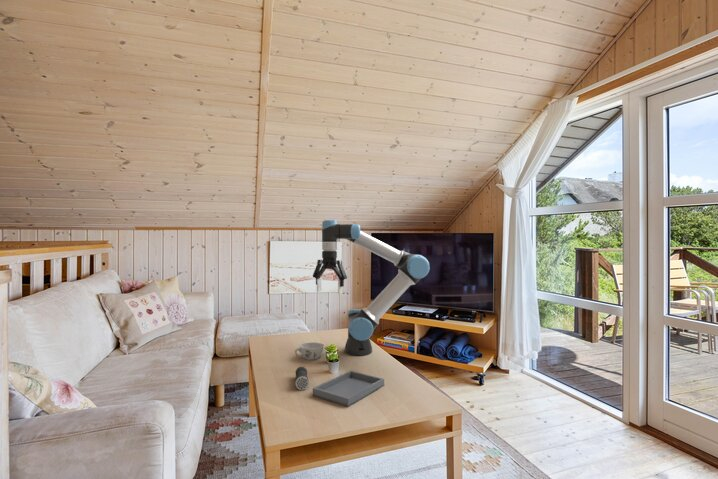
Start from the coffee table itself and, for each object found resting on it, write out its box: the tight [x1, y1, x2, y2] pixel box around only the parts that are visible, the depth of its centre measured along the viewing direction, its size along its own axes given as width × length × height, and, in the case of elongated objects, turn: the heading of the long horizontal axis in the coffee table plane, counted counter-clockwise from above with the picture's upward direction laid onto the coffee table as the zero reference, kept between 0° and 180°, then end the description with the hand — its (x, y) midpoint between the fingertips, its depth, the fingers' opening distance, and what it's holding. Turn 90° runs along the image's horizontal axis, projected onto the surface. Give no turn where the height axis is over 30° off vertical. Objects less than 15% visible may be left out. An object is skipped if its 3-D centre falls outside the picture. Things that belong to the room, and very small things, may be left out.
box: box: [312, 370, 385, 408], centre depth 158 cm, size 26×18×3 cm
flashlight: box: [295, 366, 310, 391], centre depth 166 cm, size 15×5×5 cm
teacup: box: [294, 342, 325, 361], centre depth 198 cm, size 15×12×8 cm
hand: (329, 292), depth 193 cm, fingers open, 13 cm apart
